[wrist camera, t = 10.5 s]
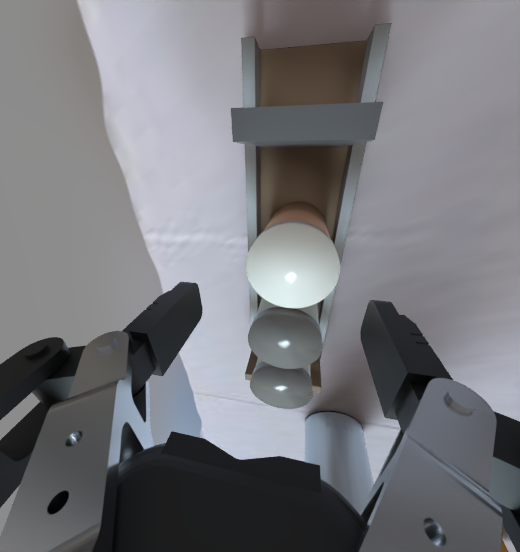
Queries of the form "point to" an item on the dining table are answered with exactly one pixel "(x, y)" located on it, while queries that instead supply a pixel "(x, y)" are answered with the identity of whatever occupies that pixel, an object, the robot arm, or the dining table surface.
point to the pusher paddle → (306, 125)
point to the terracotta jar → (294, 258)
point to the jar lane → (307, 160)
